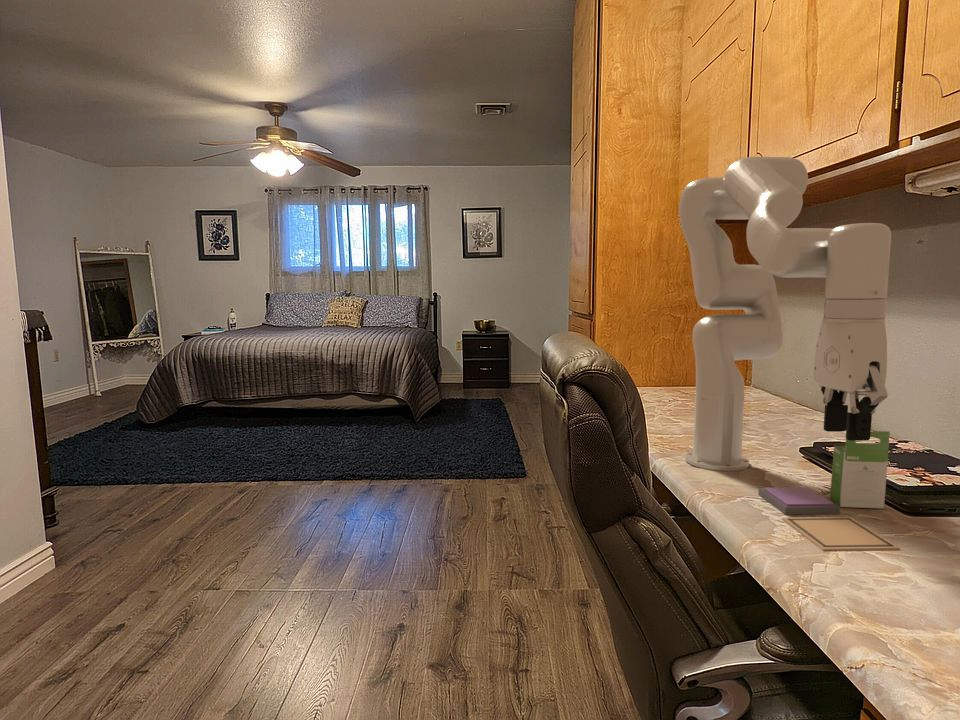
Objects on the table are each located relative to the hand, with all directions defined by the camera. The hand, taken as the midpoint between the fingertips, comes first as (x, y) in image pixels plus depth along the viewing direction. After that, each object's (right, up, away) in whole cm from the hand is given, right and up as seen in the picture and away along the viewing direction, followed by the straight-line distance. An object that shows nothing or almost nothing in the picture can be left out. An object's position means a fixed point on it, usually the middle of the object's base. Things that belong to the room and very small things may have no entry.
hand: (846, 434), depth 85 cm
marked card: (0, -15, +2) cm, 16 cm away
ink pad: (+1, -14, +14) cm, 20 cm away
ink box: (+10, -14, +14) cm, 22 cm away
